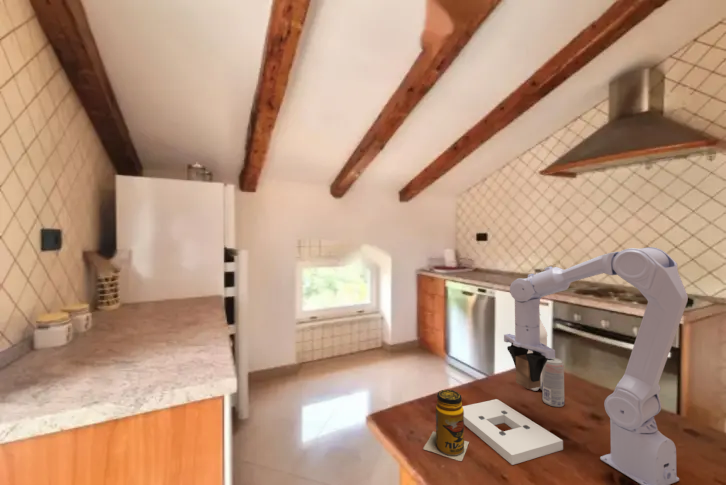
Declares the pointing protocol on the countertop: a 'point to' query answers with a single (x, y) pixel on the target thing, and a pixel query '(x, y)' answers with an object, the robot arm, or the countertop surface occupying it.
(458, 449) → the condiment
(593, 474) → the countertop surface
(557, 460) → the countertop surface
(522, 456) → the hole board
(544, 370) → the energy drink
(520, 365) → the walnut peg
